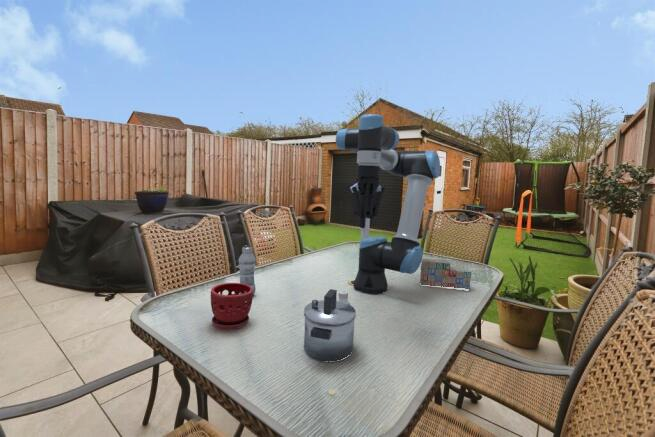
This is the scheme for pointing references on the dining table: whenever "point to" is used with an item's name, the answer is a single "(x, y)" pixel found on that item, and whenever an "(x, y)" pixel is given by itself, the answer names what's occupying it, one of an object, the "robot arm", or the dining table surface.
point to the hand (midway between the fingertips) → (364, 237)
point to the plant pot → (231, 305)
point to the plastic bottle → (247, 267)
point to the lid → (329, 311)
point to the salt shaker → (343, 297)
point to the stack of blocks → (444, 274)
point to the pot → (328, 341)
